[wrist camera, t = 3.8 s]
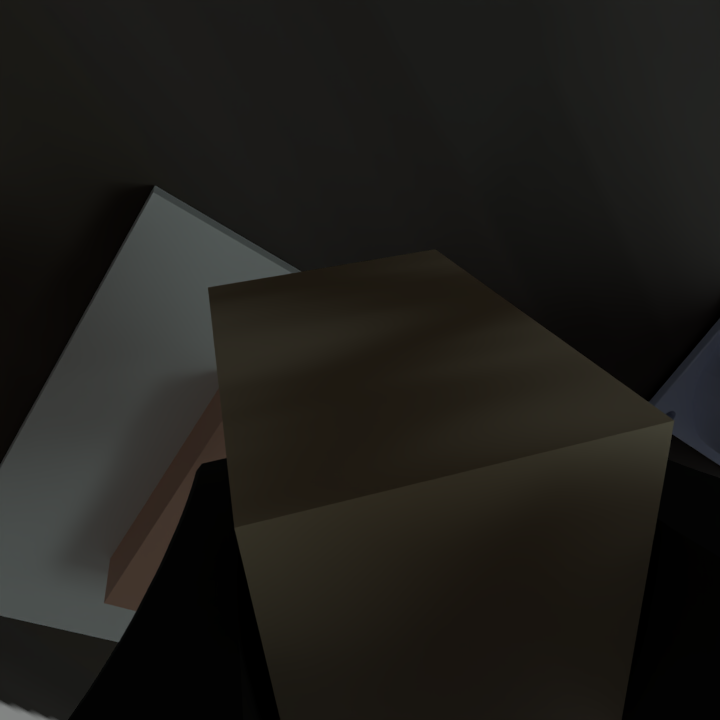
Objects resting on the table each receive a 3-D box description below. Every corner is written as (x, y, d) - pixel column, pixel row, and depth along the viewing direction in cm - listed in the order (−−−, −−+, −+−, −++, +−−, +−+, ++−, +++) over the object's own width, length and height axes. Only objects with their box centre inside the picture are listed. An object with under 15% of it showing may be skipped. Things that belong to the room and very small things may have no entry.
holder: (587, 439, 24) (634, 482, 21) (385, 682, 27) (405, 744, 24) (154, 185, 16) (150, 207, 13) (-61, 574, 19) (-98, 650, 16)
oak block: (434, 249, 11) (673, 420, 6) (443, 510, 13) (608, 791, 8) (207, 286, 10) (234, 527, 5) (265, 555, 13) (321, 898, 7)
